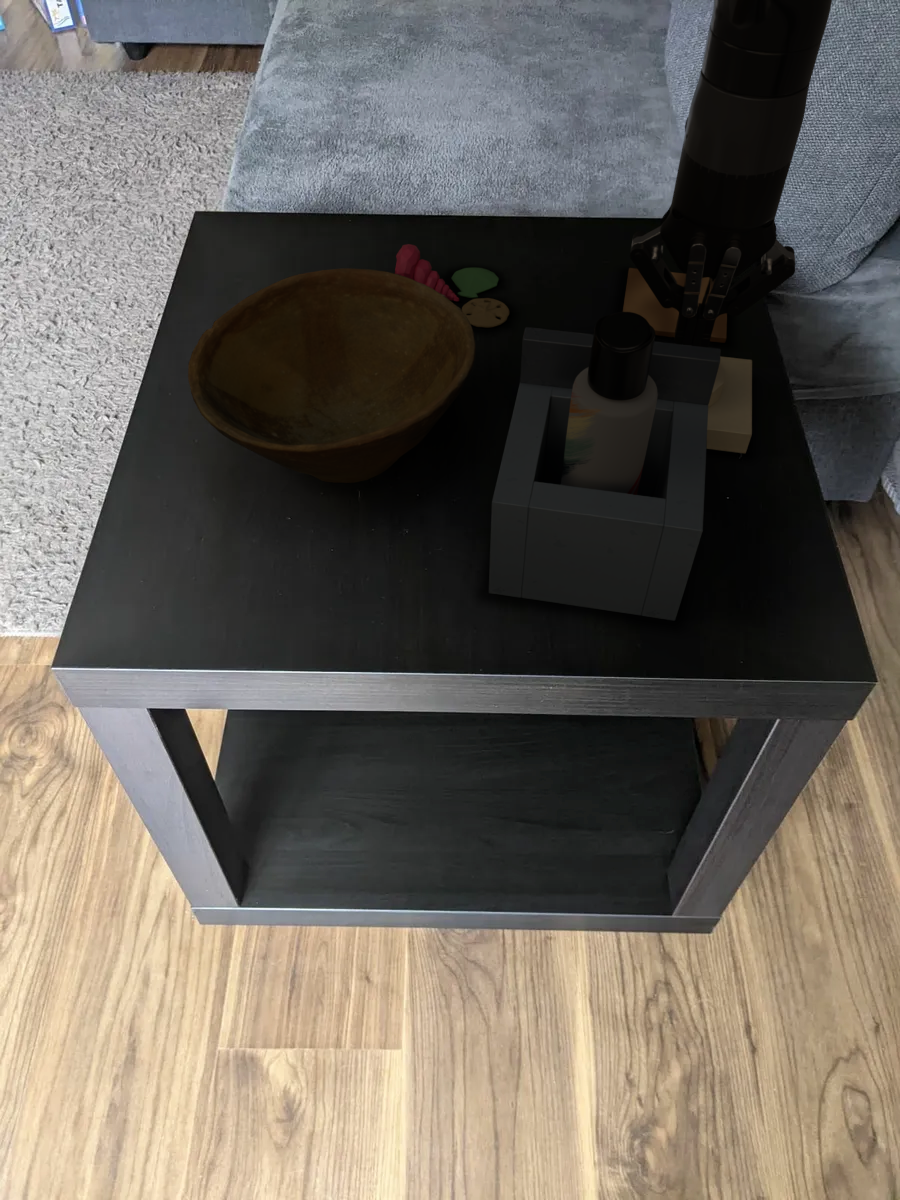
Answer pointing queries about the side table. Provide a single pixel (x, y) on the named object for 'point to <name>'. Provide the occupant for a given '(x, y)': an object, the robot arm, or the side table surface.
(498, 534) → the dark grey square holder
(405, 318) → the bowl
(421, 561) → the side table surface
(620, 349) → the spray bottle
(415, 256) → the toy pieces
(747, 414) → the control box
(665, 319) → the coaster
